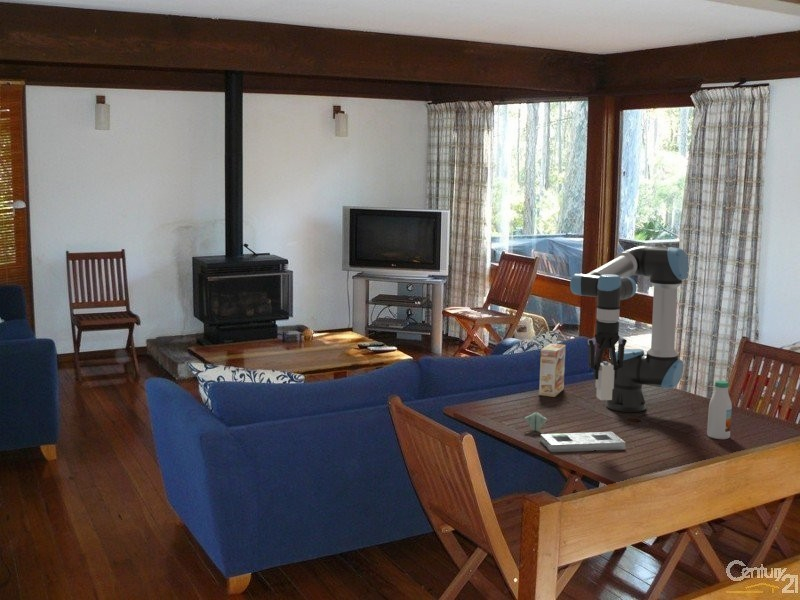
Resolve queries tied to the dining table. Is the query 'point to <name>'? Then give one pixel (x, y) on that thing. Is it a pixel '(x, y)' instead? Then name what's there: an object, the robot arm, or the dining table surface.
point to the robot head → (535, 420)
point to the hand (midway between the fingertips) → (604, 388)
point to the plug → (605, 381)
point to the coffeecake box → (552, 370)
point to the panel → (582, 441)
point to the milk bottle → (720, 412)
